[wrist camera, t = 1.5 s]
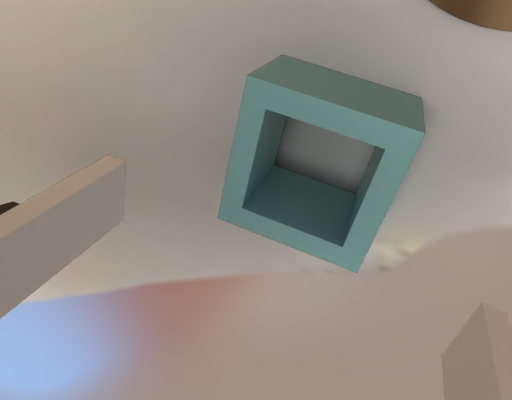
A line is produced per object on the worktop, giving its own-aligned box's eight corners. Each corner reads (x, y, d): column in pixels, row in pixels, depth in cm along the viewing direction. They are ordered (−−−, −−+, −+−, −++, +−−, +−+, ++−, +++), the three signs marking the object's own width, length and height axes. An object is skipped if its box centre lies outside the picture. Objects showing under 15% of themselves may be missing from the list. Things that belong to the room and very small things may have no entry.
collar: (252, 174, 27) (217, 218, 22) (282, 54, 23) (247, 75, 18) (367, 216, 26) (357, 272, 21) (421, 98, 21) (425, 133, 16)
